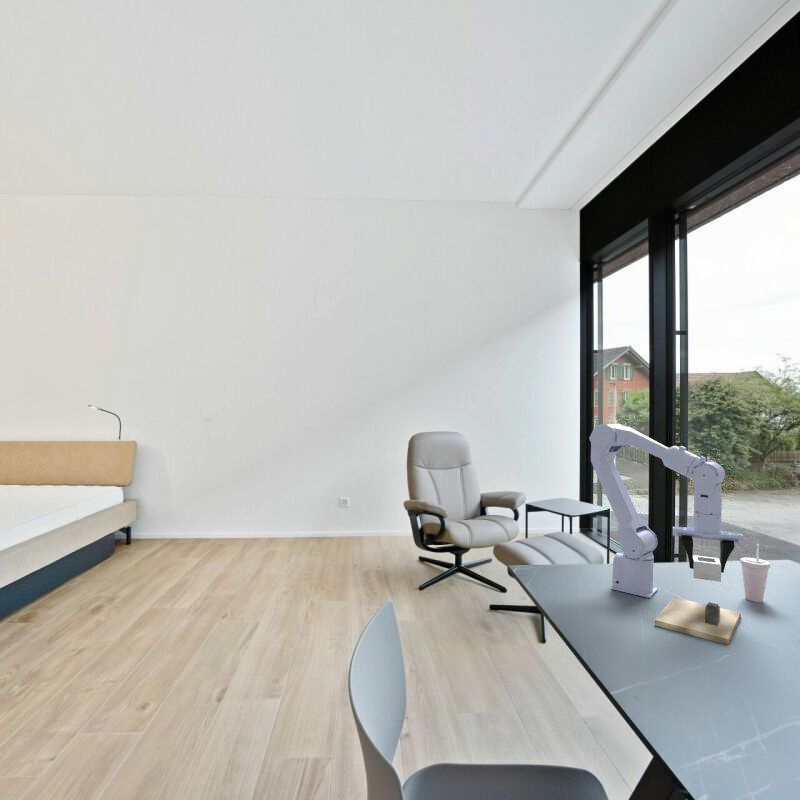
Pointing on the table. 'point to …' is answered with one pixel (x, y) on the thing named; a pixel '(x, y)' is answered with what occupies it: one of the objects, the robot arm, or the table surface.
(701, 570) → the steel collar
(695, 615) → the post board
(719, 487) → the robot arm
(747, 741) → the table surface
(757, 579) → the smoothie
